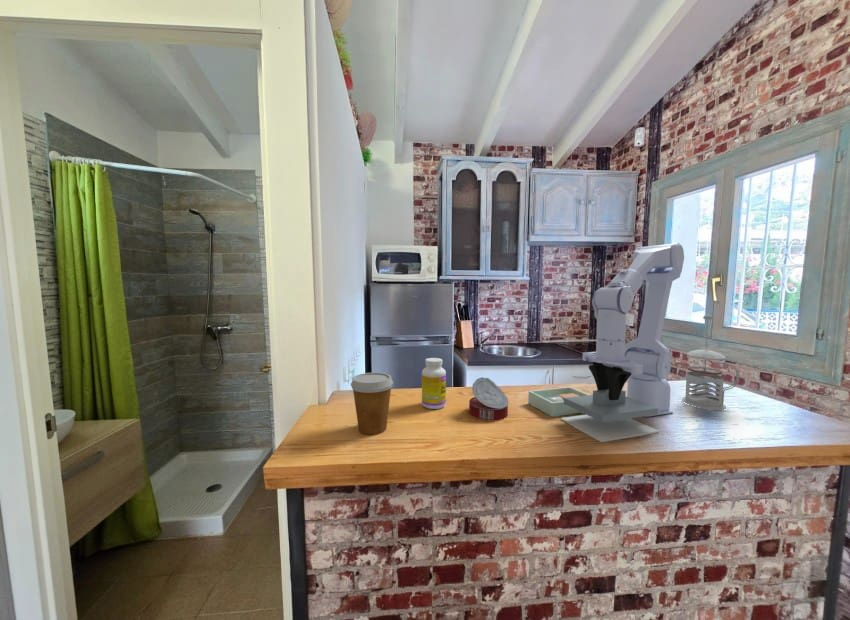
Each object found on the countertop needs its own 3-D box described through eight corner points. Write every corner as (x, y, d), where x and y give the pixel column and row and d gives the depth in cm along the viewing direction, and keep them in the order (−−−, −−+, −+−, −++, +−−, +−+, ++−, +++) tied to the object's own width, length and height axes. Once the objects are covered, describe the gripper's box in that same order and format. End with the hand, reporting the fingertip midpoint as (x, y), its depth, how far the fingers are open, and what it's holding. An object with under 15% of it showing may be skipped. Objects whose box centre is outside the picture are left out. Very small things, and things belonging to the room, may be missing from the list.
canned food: (496, 423, 85) (513, 391, 85) (502, 437, 75) (521, 400, 75) (459, 403, 87) (476, 371, 86) (460, 413, 76) (479, 377, 76)
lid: (613, 397, 80) (614, 381, 80) (657, 414, 69) (658, 395, 69) (563, 403, 76) (564, 386, 76) (602, 422, 65) (603, 402, 65)
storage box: (569, 398, 92) (569, 386, 91) (597, 410, 82) (597, 397, 82) (528, 403, 88) (528, 391, 87) (552, 416, 78) (552, 403, 78)
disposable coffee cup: (400, 423, 74) (399, 373, 74) (381, 441, 65) (381, 385, 65) (364, 418, 78) (364, 370, 77) (342, 434, 69) (342, 381, 68)
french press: (679, 395, 94) (683, 313, 92) (732, 403, 87) (737, 314, 86) (681, 405, 86) (686, 315, 84) (741, 415, 79) (746, 317, 78)
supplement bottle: (444, 410, 82) (444, 362, 81) (419, 409, 84) (419, 361, 83) (447, 402, 89) (447, 357, 88) (424, 400, 90) (424, 356, 89)
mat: (612, 412, 81) (612, 410, 81) (658, 432, 69) (658, 430, 69) (561, 419, 76) (561, 418, 76) (601, 442, 65) (601, 440, 65)
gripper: (573, 335, 78) (571, 389, 78) (625, 345, 64) (622, 410, 64) (595, 334, 80) (594, 387, 80) (651, 343, 66) (648, 407, 66)
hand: (608, 397), depth 73 cm, fingers closed on lid, 2 cm apart
